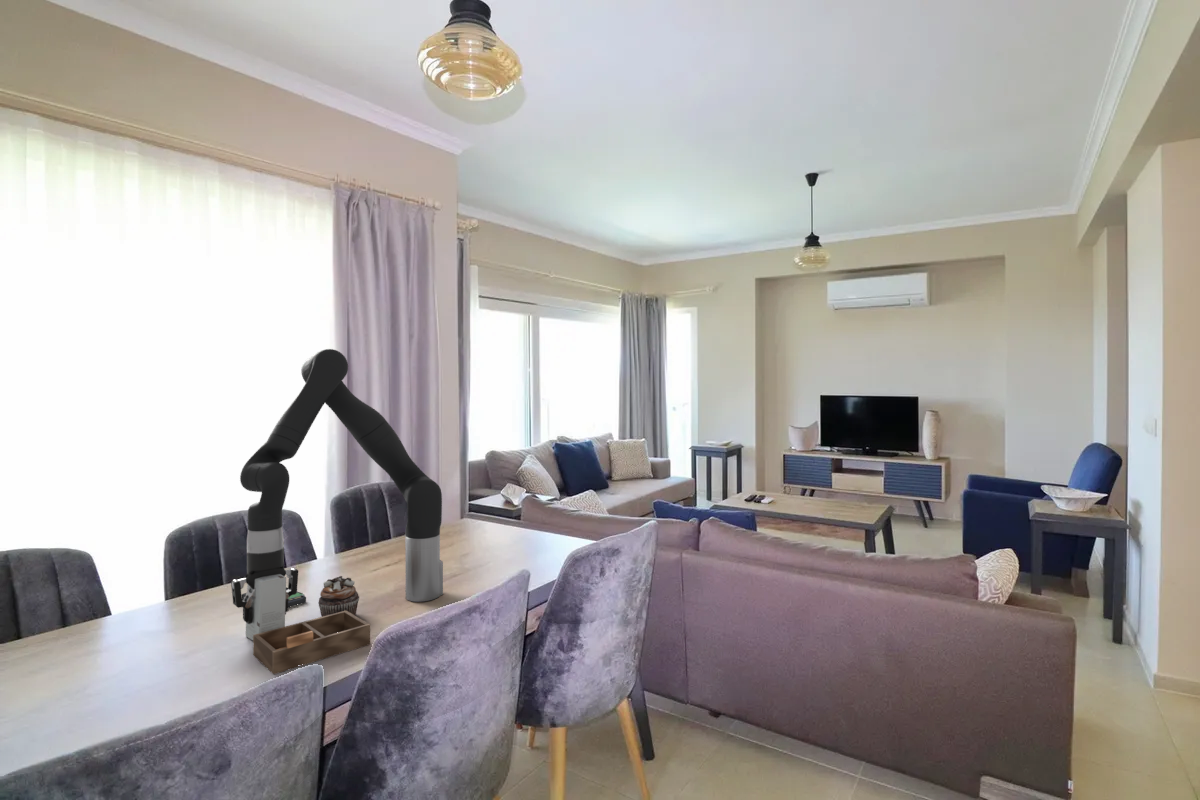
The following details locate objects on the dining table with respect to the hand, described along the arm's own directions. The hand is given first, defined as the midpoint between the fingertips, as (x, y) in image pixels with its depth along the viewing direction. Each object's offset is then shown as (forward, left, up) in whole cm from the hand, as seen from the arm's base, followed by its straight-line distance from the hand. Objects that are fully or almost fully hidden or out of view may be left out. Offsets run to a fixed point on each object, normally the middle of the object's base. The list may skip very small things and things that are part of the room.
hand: (266, 618), depth 143 cm
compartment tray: (-5, +14, -5) cm, 16 cm away
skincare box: (0, 0, -5) cm, 5 cm away
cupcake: (-17, 0, -5) cm, 18 cm away
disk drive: (-10, -24, -5) cm, 26 cm away
